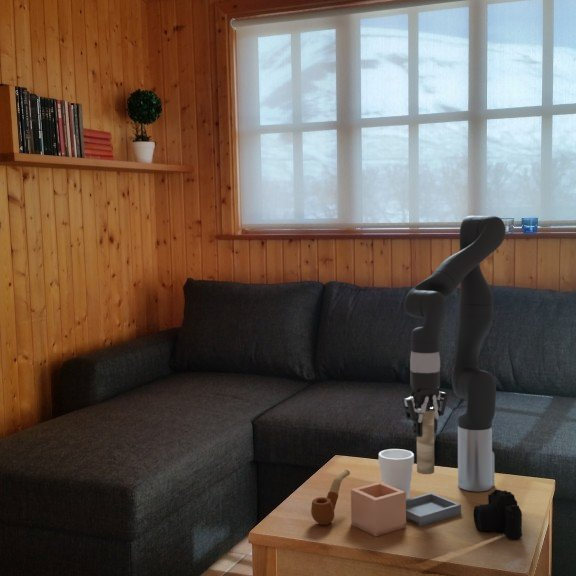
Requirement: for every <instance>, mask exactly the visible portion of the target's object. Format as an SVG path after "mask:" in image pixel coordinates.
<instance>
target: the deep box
mask: <svg viewBox="0 0 576 576" xmlns="http://www.w3.org/2000/svg"><path fill="white" fill-rule="evenodd" d="M350 515H351V516H350V518H351V519H350V520H351V523H350V524H351V525H352V526H354V527H356V528H358V529H360V530H362V531H363V532H366V533H368V534H369V535H372V536H373V537H379V536H382V535H386V534H389V533H393V532H396V531H399V530H403V529H405V528H407V520H406V492H404V491H402V490H400V489H397V488H395V487H392V486H390V485H387V484H385V483H383V482H382V481H378V482H374V483H370V484H366V485H363V486H359V487H354V488H351V489H350Z"/></svg>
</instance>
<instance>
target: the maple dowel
mask: <svg viewBox="0 0 576 576" xmlns="http://www.w3.org/2000/svg"><path fill="white" fill-rule="evenodd" d="M418 410H420V408H418ZM417 417H418V413H417ZM421 422H422V437H417V436H416V472H417V473H418V474H421V475H432V474H434V473H435V434H434V410H431V409H426V410H425V414H423V417H422V421H421Z"/></svg>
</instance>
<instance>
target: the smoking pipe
mask: <svg viewBox="0 0 576 576" xmlns="http://www.w3.org/2000/svg"><path fill="white" fill-rule="evenodd" d="M350 474H351V472H350V470H349V469H344V471H342V472H341V473H339V474H338V475H337V476H336V477H334V479H333V481H332V484H331V486H330V488H329V492H328V493H327V496H326V497H325V496H320V497H316V498H314V499H312V502H311V510H310V511H311V512H310V513H311V517H312V519H313V520H314V521H315V523H317V524H319V525H321V526H327V525H330V524H331V523H332V522H333V521H334V518H335V509H336V505H337V501H338V498H339V493H340V492H339V491H340V488H341V484H342V482H343V480H344V479H345V478H347V477H349V476H350Z"/></svg>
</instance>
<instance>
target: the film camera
mask: <svg viewBox="0 0 576 576" xmlns="http://www.w3.org/2000/svg"><path fill="white" fill-rule="evenodd" d="M473 522H474V525H475V527H476V530H477V531H483V532H486V531H487V532H488V531H491V532H497V533H504V534H505V536H506V537H507V538H508V539H511V540H518V539H521V538H522V537H523V533H522V531H523V512H522V510H521V508H520V506H519V505H518V500H516V497H515V495H514V494H513V493H512V492H510V491H507V490H500V489H494V491H492V492H491V493H490V494H488V498H487V504H479V505H475V506H474V509H473Z"/></svg>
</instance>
